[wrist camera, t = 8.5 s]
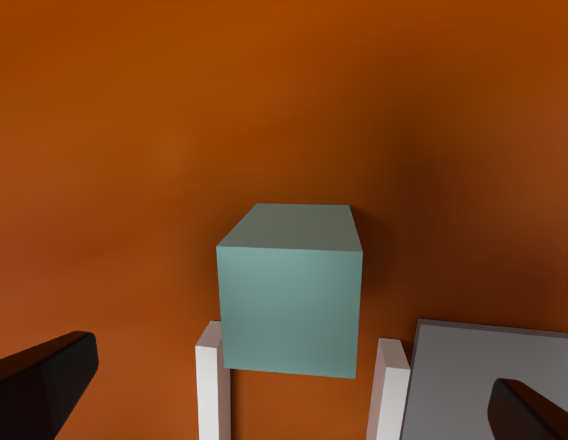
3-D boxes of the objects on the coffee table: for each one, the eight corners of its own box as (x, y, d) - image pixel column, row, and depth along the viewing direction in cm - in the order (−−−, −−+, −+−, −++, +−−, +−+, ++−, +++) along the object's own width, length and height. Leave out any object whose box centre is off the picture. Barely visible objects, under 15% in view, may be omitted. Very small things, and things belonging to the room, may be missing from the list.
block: (345, 290, 19) (355, 378, 12) (259, 285, 19) (223, 368, 13) (349, 204, 18) (363, 251, 11) (256, 203, 18) (216, 246, 11)
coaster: (549, 462, 20) (555, 472, 20) (397, 442, 21) (399, 451, 20) (591, 335, 18) (599, 341, 17) (417, 318, 19) (420, 324, 18)
